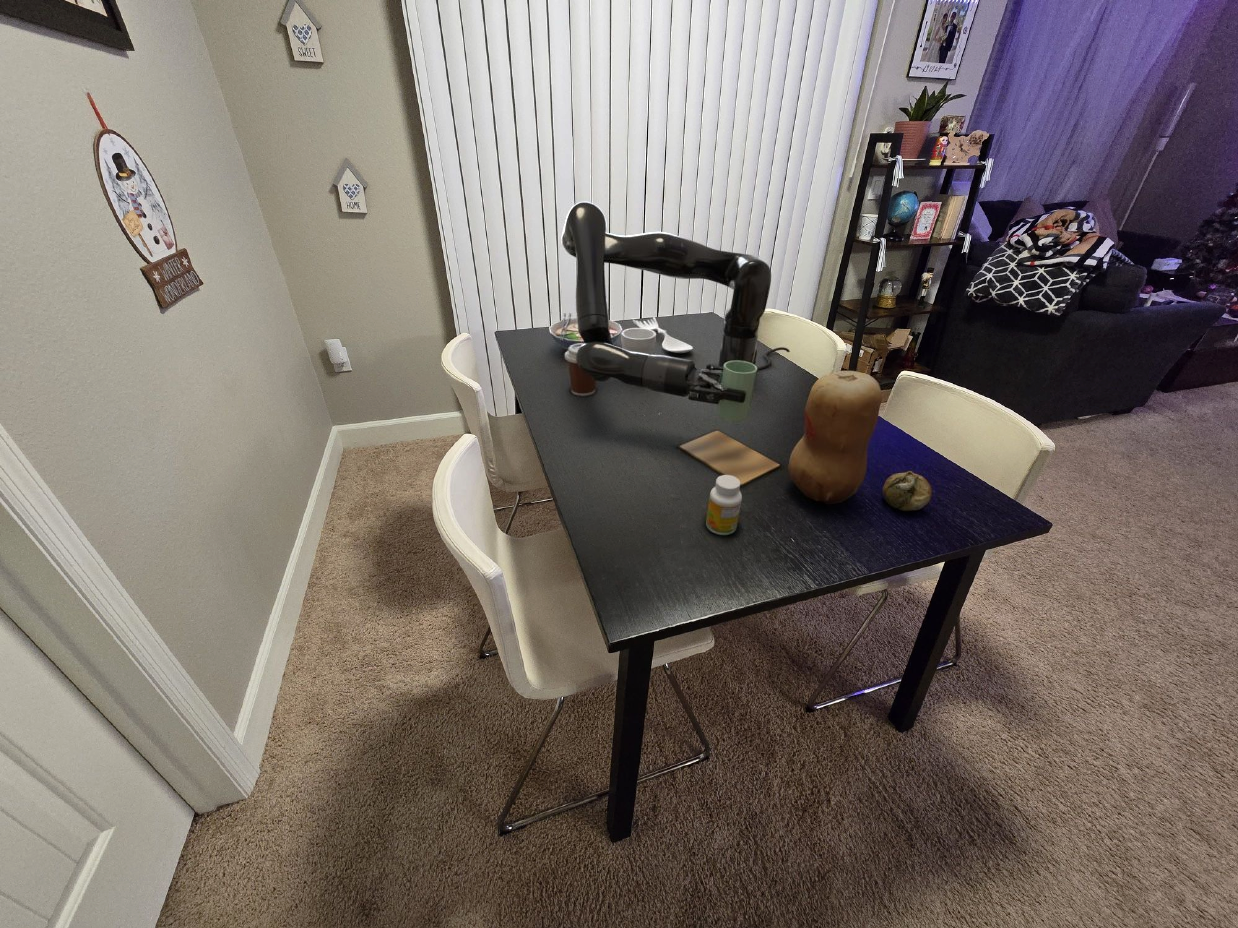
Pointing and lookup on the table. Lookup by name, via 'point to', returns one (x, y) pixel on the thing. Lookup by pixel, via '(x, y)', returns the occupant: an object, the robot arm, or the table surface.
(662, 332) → the spoon
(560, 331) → the ramen bowl
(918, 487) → the onion
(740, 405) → the cup
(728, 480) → the supplement bottle
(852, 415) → the butternut squash
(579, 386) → the coffee cup
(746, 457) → the placemat
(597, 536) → the table surface
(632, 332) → the foam cup
